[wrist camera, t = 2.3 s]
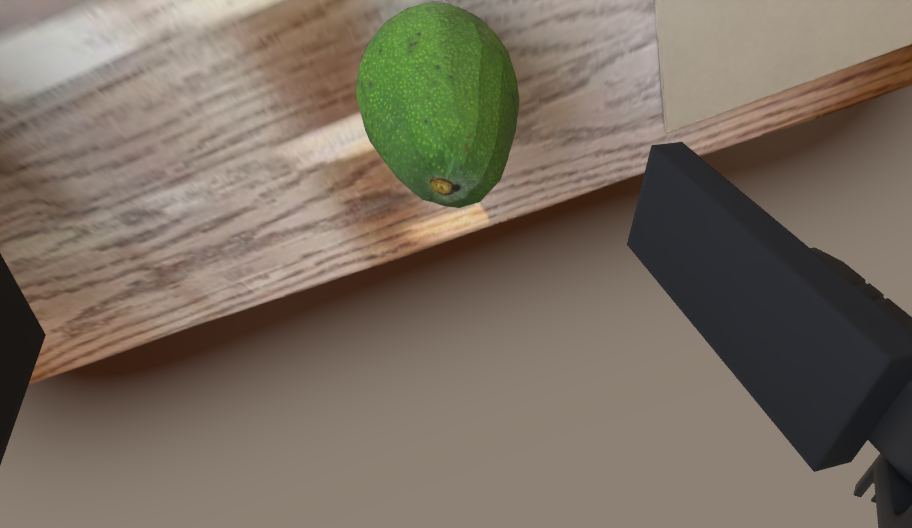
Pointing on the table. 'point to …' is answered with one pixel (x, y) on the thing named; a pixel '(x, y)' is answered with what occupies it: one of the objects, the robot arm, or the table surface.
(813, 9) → the corner mat
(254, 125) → the table surface
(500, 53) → the avocado
